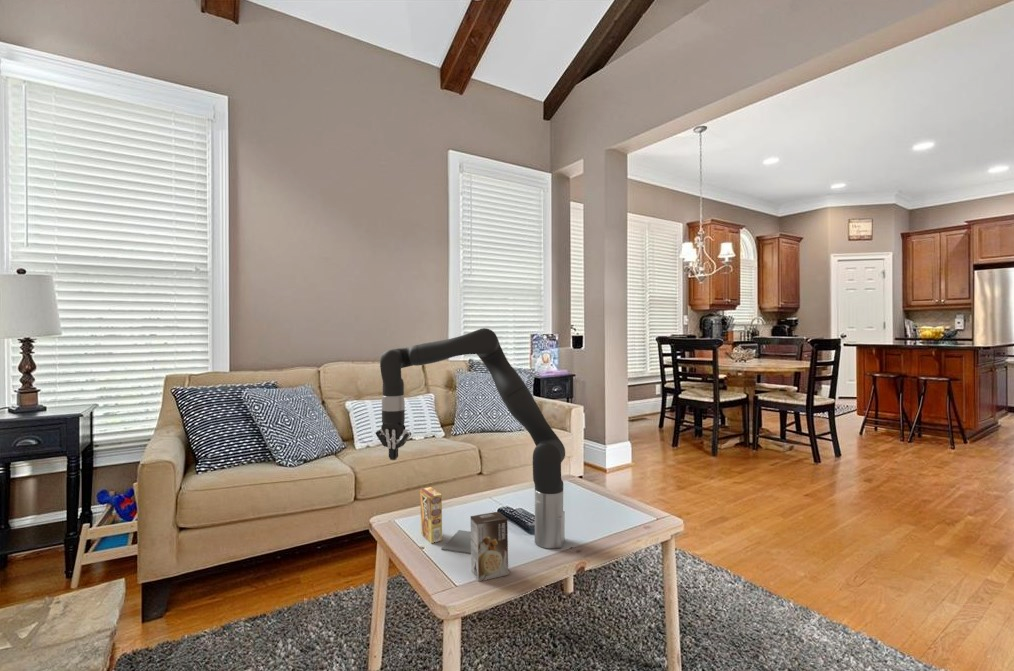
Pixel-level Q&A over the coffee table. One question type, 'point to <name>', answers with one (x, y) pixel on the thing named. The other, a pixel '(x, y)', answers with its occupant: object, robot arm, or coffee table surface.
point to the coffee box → (489, 546)
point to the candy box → (431, 514)
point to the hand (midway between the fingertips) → (393, 459)
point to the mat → (459, 542)
